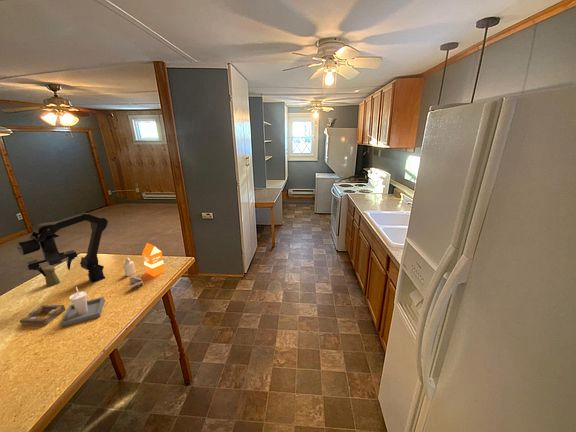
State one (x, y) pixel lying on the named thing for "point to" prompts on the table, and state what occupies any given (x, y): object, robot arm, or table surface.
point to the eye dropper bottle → (129, 267)
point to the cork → (51, 276)
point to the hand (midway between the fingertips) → (57, 273)
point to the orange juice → (153, 260)
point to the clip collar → (52, 309)
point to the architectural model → (135, 281)
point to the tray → (93, 312)
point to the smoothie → (79, 301)
